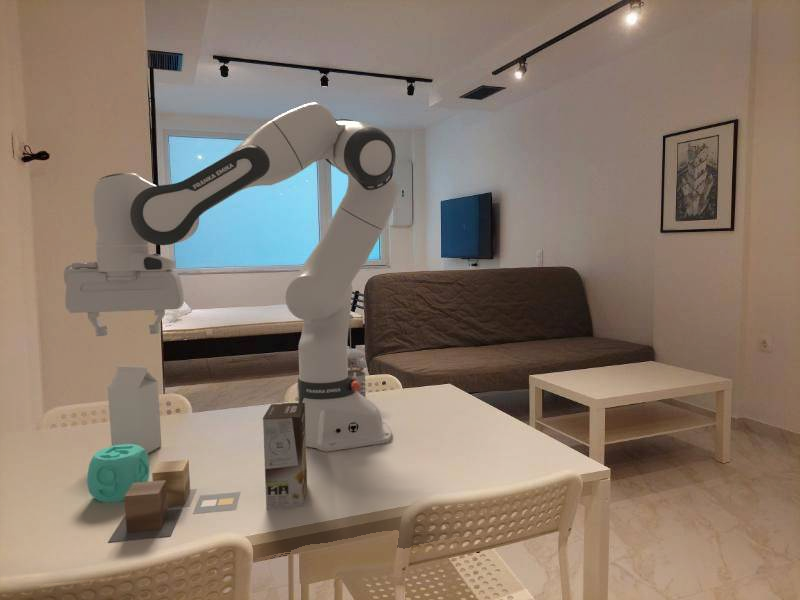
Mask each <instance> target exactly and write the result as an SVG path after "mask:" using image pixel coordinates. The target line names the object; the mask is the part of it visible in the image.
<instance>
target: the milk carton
mask: <svg viewBox="0 0 800 600" xmlns="http://www.w3.org/2000/svg"><path fill="white" fill-rule="evenodd" d="M112 378H113V379H112V380H111V382H110V384H109V385H108V386H107V394H108V395H107V396H108V397H107V398H108V409H109V410H108V411H109V424H110V425H109V427H110V437H111V438H110V441H111V446H115V445H122V444H135V445H139V446H140V447H142V448H143V449H144V450H145V451H146V452H147V454H148V455H149V454H150V453H152V452H153V451H155V450H156V449H158V448H160V447H162V430H161V429H162V428H161V417H160V416H161V413H160V396H159V383H158V379H156V378H155V377H154V376H153V375H152V374H150V373H149V371H148V367H147V366H137V365H135V366H132V365H131V366H130V365H117V372H116V373H115V374H114V377H112Z"/></svg>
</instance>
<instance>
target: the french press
mask: <svg viewBox="0 0 800 600" xmlns="http://www.w3.org/2000/svg"><path fill="white" fill-rule="evenodd" d="M353 319H354V316H353V314H350V320H353ZM351 328H352V327H351V326H349V345H350V346H349V348H347V359H348V360H350V361H351V362H353V365H352V364H350V365H348V375H349V376H351V377H352V376H353V377H354V378H355V379H356V380H357V381H358V382H359V383H360V386H361V387H360V389H359V390H358V391H357V392H358V393H359V394H361V395H362V396H364V397H365V398H366V397H367V396H366V395H367V394H366V372H364V367H363V366H361V362H360V359H361V358H364V357H365V356H366V353H365V352H363V351H362V350H359V349H358V348H352V339H351V338H352V335H351V332H352V331H351V330H352V329H351ZM355 359H356V360H355ZM357 361H358V365H355V362H357Z"/></svg>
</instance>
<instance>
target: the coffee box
mask: <svg viewBox="0 0 800 600" xmlns="http://www.w3.org/2000/svg"><path fill="white" fill-rule="evenodd" d="M262 422H263V424H262V427H263V451H264V453H263V455H264V478H265V481H264V483H265V509H266V510H278V509H294V508H295V509H296V508H302V507H303V506H304V502H305V496H306V492H307V489H308V488H307V487H308V471H307V470H308V468H307V446H306V429H305V403H299V402H286V403H283V402H282V403H271V404H270V406H269V407H268V409H267V410H266V412H265V414H264V415H263V417H262Z"/></svg>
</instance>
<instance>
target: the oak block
mask: <svg viewBox="0 0 800 600" xmlns="http://www.w3.org/2000/svg"><path fill="white" fill-rule="evenodd" d="M189 465H190V462H189V459H182V460H181V459H180V460H169V461H168V460H167V461H159V462H158V463H157V464H156V466H155V468H154V469H153V471H152V472H151V474H152V475H151V477H152V481H162V480H166V490H167V506H168V505H179V504H185V502H186V500H187V498H188V496H189V493H190V489H191V479H190V466H189Z"/></svg>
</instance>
